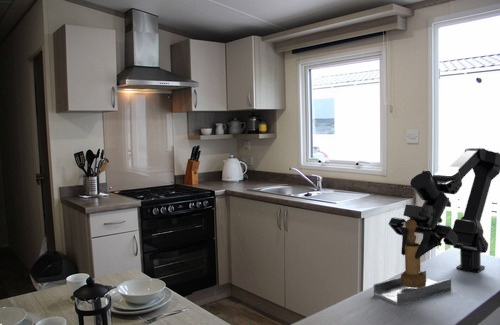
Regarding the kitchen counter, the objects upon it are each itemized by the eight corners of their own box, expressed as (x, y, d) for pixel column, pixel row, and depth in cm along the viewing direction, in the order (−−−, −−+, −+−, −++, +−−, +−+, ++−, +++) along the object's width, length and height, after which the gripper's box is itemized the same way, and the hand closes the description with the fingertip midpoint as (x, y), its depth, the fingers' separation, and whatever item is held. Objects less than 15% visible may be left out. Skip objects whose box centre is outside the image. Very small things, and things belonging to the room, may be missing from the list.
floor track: (424, 280, 127) (424, 270, 127) (451, 289, 119) (451, 279, 119) (373, 294, 118) (373, 284, 118) (398, 305, 110) (398, 294, 110)
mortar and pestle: (424, 289, 114) (421, 222, 113) (399, 286, 117) (396, 221, 116) (427, 281, 120) (424, 217, 119) (403, 278, 123) (400, 216, 122)
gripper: (391, 190, 127) (367, 233, 121) (451, 196, 111) (426, 246, 106) (408, 212, 132) (386, 255, 126) (468, 221, 116) (445, 270, 111)
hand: (409, 256), depth 117 cm, fingers closed on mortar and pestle, 4 cm apart
